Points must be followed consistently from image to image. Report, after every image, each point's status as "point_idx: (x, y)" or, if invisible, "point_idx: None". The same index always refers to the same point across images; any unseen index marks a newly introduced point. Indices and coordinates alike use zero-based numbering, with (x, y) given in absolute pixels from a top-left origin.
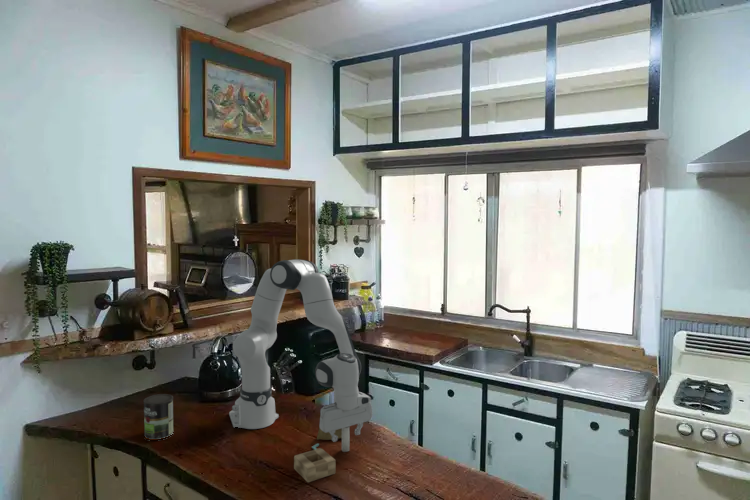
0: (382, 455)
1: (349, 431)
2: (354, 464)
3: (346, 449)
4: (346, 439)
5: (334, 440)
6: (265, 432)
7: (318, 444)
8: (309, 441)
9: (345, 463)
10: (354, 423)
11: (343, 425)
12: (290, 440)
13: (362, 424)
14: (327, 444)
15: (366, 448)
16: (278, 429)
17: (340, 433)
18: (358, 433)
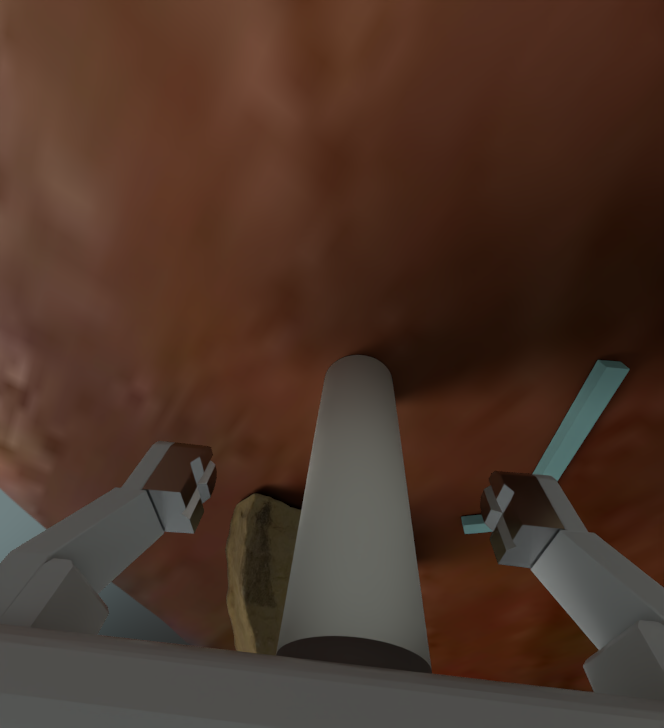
0: (43, 10)
1: (311, 531)
2: (514, 32)
3: (373, 368)
4: (375, 442)
5: (560, 490)
6: (542, 672)
7: (471, 525)
8: (465, 564)
9: (568, 151)
10: (161, 697)
11: None
12: (529, 607)
13: (13, 566)
14: (409, 500)
15: (178, 298)
16: (481, 663)
17: (283, 540)
18: (176, 455)
